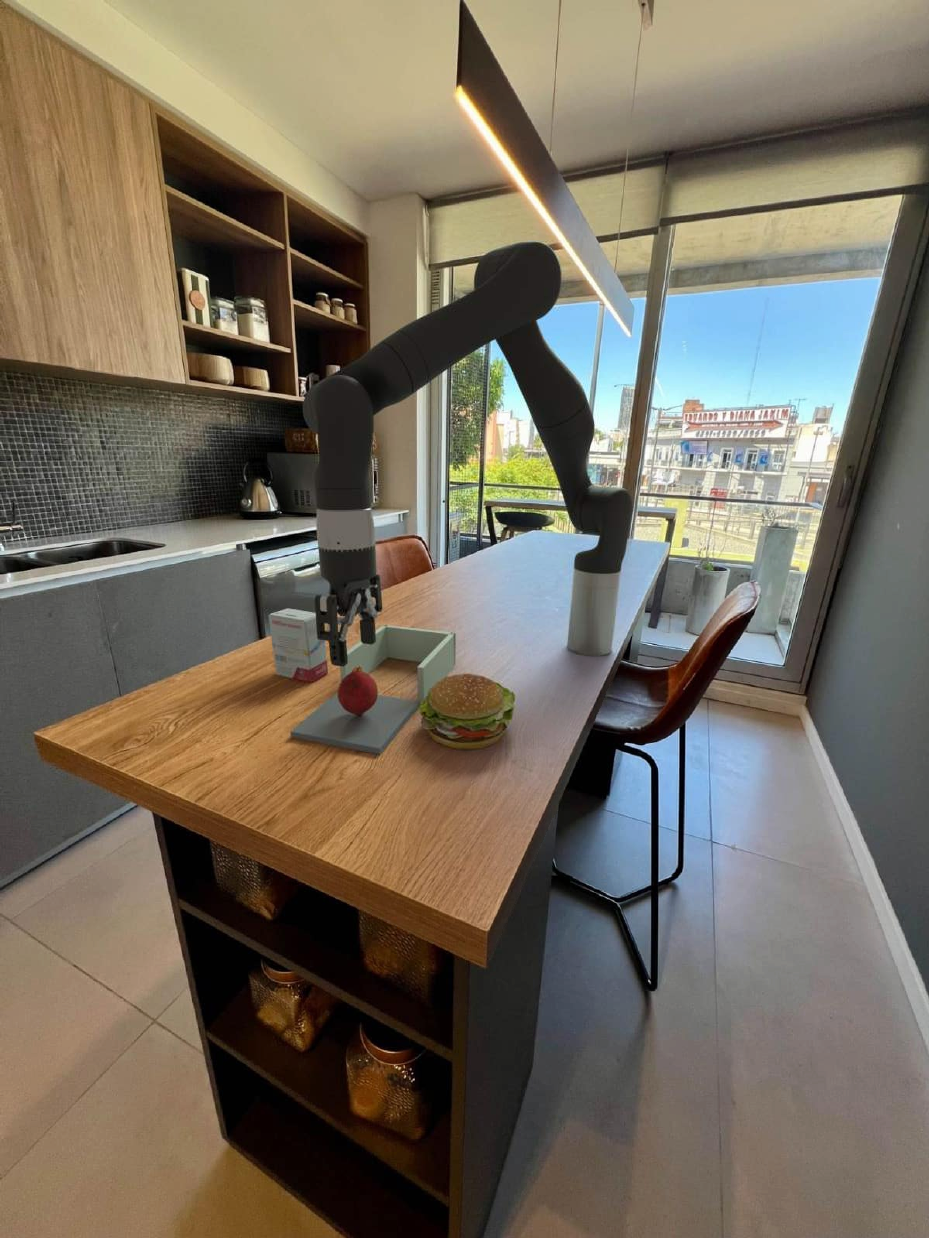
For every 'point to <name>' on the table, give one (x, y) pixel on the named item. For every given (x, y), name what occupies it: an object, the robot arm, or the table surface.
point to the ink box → (297, 645)
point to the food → (467, 711)
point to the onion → (357, 692)
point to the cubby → (407, 653)
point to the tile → (356, 724)
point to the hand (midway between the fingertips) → (355, 653)
